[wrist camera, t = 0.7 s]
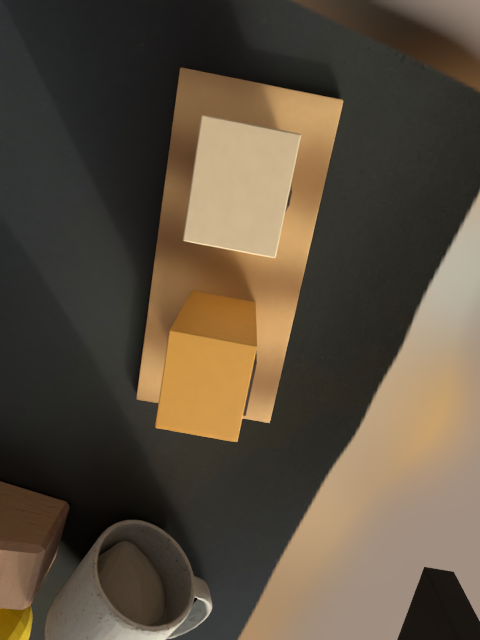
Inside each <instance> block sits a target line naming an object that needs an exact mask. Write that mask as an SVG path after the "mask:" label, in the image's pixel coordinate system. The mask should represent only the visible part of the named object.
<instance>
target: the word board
mask: <svg viewBox="0 0 480 640" xmlns="http://www.w3.org/2000/svg"><path fill="white" fill-rule="evenodd" d="M342 104H343V100H341V99H336V98H331V97H326V96H321V95H316V94H311V93H306V92H301V91H296V90H291V89H286V88H281V87H276V86H271V85H266V84H261V83H256V82H251V81H246V80H241V79H236V78H231V77H226V76H221V75H216V74H211V73H206V72H201V71H196V70H191V69H186V68H180V72H179V80H178V87H177V95H176V103H175V110H174V118H173V125H172V133H171V140H170V148H169V155H168V163H167V171H166V178H165V186H164V193H163V201H162V208H161V216H160V223H159V231H158V239H157V246H156V254H155V261H154V269H153V276H152V284H151V291H150V299H149V306H148V314H147V322H146V329H145V337H144V344H143V352H142V359H141V367H140V374H139V382H138V390H137V397H136V399H138V400H144V401H149V402H155V403H159V397H160V390H161V384H162V377H163V370H164V363H165V357H166V350H167V343H168V336H169V330H170V329H171V327H172V325H173V323H174V322H175V320H176V318H177V316H178V314H179V313H180V311H181V309H182V307H183V306H184V304H185V302H186V300H187V298H188V297H189V295H190V293H191V291H198V292H203V293H209V294H214V295H219V296H225V297H230V298H236V299H241V300H246V301H252V302H256V325H257V350H256V352H257V365H256V370H255V375H254V380H253V384H252V389H251V394H250V399H249V403H248V408H247V413H246V416H243V417H242V418H244V419H250V420H256V421H261V422H267V423H270V420H271V415H272V411H273V406H274V402H275V398H276V393H277V389H278V385H279V380H280V376H281V371H282V367H283V363H284V358H285V354H286V350H287V345H288V341H289V336H290V332H291V328H292V323H293V319H294V315H295V310H296V306H297V301H298V297H299V293H300V288H301V284H302V280H303V275H304V271H305V266H306V262H307V258H308V253H309V249H310V244H311V240H312V236H313V231H314V227H315V223H316V218H317V214H318V209H319V205H320V201H321V196H322V192H323V188H324V183H325V179H326V174H327V170H328V166H329V161H330V157H331V153H332V148H333V144H334V139H335V135H336V131H337V126H338V122H339V118H340V113H341V109H342ZM202 115H207V116H212V117H217V118H222V119H227V120H232V121H237V122H242V123H247V124H252V125H257V126H262V127H268V128H273V129H278V130H283V131H288V132H293V133H298V134H301V139H300V144H299V149H298V153H297V158H296V163H295V168H294V172H293V177H292V196H291V200H290V205H289V207H288V209H287V211H286V212H285V216H284V220H283V225H282V230H281V235H280V240H279V244H278V249H277V254H276V257H275V258H271V257H265V256H260V255H255V254H249V253H244V252H239V251H234V250H228V249H223V248H218V247H212V246H207V245H202V244H197V243H191V242H186V241H183V236H184V229H185V222H186V215H187V209H188V202H189V195H190V188H191V182H192V175H193V168H194V161H195V155H196V148H197V141H198V134H199V128H200V121H201V116H202Z"/></svg>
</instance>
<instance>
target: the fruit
mask: <svg viewBox="0 0 480 640" xmlns="http://www.w3.org/2000/svg"><path fill="white" fill-rule="evenodd" d="M31 625H32V610H31V605H30V606H29V607H27V608H25V609H23V610H17V609H6V608H0V640H28V639H29V635H30V631H31Z"/></svg>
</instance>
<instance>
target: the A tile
mask: <svg viewBox="0 0 480 640" xmlns="http://www.w3.org/2000/svg"><path fill="white" fill-rule="evenodd" d="M300 139H301V134H298V133H293V132H288V131H283V130H278V129H273V128H268V127H262V126H257V125H252V124H247V123H242V122H237V121H232V120H227V119H222V118H217V117H212V116H207V115H202V116H201V121H200V128H199V134H198V141H197V148H196V155H195V161H194V168H193V175H192V182H191V188H190V195H189V202H188V209H187V215H186V222H185V229H184V236H183V241H186V242H191V243H197V244H202V245H207V246H212V247H218V248H223V249H228V250H234V251H239V252H244V253H249V254H255V255H260V256H265V257H271V258H275V257H276V254H277V249H278V244H279V240H280V235H281V230H282V225H283V220H284V216H285V212H286V211H287V209H288V207H289V205H290V200H291V196H292V177H293V172H294V168H295V163H296V158H297V153H298V149H299V144H300Z"/></svg>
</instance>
